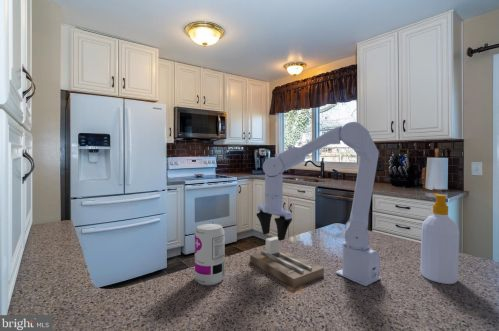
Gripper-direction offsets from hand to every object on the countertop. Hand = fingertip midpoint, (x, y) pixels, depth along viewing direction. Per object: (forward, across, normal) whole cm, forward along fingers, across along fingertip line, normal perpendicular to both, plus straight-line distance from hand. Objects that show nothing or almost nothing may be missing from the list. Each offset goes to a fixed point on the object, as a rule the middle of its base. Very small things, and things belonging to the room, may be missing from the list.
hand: (273, 236), depth 84 cm
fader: (+6, 0, 0) cm, 6 cm away
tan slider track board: (+8, +5, 0) cm, 10 cm away
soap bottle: (+9, +34, +33) cm, 48 cm away
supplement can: (+9, -2, -22) cm, 24 cm away
